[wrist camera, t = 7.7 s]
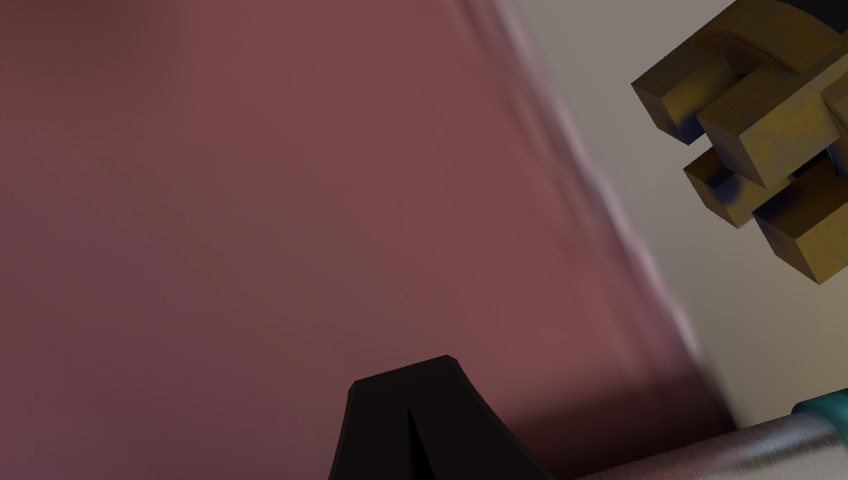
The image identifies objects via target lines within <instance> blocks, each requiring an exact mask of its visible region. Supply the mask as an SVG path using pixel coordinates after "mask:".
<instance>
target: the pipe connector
mask: <svg viewBox="0 0 848 480" xmlns="http://www.w3.org/2000/svg"><path fill="white" fill-rule="evenodd" d="M631 85H632V87H633V89H634V90H635V92H636V93H637V95H638V97H639V98H640V100H641V102H642V103H643V105H644V107H645V108H646V110H647V111H648V113H649V115H650V116H651V118H652V120H653V121H654V123H655V124H656V126H657V128H659V129H660V130H662V131H664V132H666V133H667V134H669V135H671V136H673V137H674V138H676V139H678V140H679V141H681V142H683V143H685V144H687V145H690V144H691V143H692V142H694V141H695V140H696V139H698V138H699V137H700V136H702V135H703V134H704V133H706V134H707V136H708V138H709V140H710V141H711V143H712V145H713V146H712V147H711V148H710V149H709V150H707V151H706V152H705V153H703V154H702V155H701V156H699V157H698V158H697V159H695V160H694V161H693V162H691V163H690V164H689V165H688V166H686V167H685V168H684V169H683V170H684V172H685V173H686V175H687V177H688V178H689V180H690V182H691V183H692V185H693V187H694V188H695V190H696V191H697V193H698V195H699V196H700V198H701V199H702V201H703V203H704V205H705V206H706V207H707V208H708V209H710V210H711V211H712V212H714V213H716V214H717V215H718V216H720V217H721V218H723V219H724V220H725V221H727V222H728V223H730V224H731V225H733V226H734V227H736V228H737V229H739V228H740V227H742V226H743V225H744V224H746V223H747V222H748V221H750V220H751V219H753V218H755V220H756V221H757V223H758V225H759V227H760V229H761V230H762V232H763V234H764V235H765V237H766V239H767V241H768V243H769V244H770V246H771V248H772V250H773V251H774V253H775V255H776V256H778V257H779V258H781V259H782V260H784V261H785V262H786V263H788V264H789V265H791V266H792V267H794V268H795V269H797V270H798V271H800V272H801V273H803V274H804V275H805V276H807V277H808V278H810V279H811V280H813V281H814V282H816V283H817V284H818V285H821V284H822V283H823V282H825V281H826V280H828V279H829V278H830V277H832V276H833V275H835V274H836V273H837V272H839V271H840V270H842V269H843V268H844V267H846V266H847V265H848V0H736V1H735V2H733V3H732V4H731V5H730V6H728V7H727V8H726V9H725V10H723V11H722V12H721V13H720V14H718V15H717V16H716V17H715V18H713V19H712V20H711V21H709V22H708V23H707V24H706V25H704V26H703V27H702V28H701V29H699V30H698V31H697V32H696V33H694V34H693V35H692V36H691V37H689V38H688V39H687V40H686V41H684V42H683V43H682V44H681V45H679V46H678V47H677V48H675V49H674V50H673V51H672V52H671V53H669V54H668V55H667V56H665V57H664V58H663V59H662V60H660V61H659V62H658V63H657V64H655V65H654V66H653V67H652V68H650V69H649V70H648V71H647V72H645V73H644V74H643V75H642V76H640V77H639V78H638V79H636V80H635V81H634V82H633V83H631Z"/></svg>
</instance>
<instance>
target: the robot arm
mask: <svg viewBox="0 0 848 480" xmlns="http://www.w3.org/2000/svg"><path fill="white" fill-rule="evenodd" d="M328 480H557V479H556V478H555V477H554V476H553V475H552V474H551V473H550V472H549V471H548V470H547V469H546V468H545V467H544V466H543V465H542V464H541V463H540V462H539V461H538V460H537V459H536V458H535V457H534V456H533V455H532V453H531V452H530V451H529V450H528V449H527V448H526V447H525V446H524V445H523V444H522V443H521V442H520V441H519V440H518V439H517V438H516V437H515V436H514V434H513V433H512V432H511V431H510V430H509V429H508V428H507V427H506V426H505V424H504V423H503V422H502V421H501V420H500V419H499V418H498V416H497V415H496V414H495V413H494V411H493V410H492V409H491V408H490V407H489V405H488V404H487V403H486V402H485V401H484V399H483V398H482V397H481V395H480V394H479V393H478V391H477V390H476V389H475V388H474V386H473V385H472V383H471V382H470V381H469V379H468V378H467V376H466V374H465V373H464V371H463V370H462V368H461V367H460V365H459V363H458V361H457V359H455V358H453V357H451V356H449V355H444V356H440V357H437V358H433V359H430V360H426V361H423V362H419V363H416V364H412V365H409V366H405V367H402V368H398V369H395V370H392V371H388V372H385V373H381V374H378V375H374V376H371V377H367V378H364V379H360V380H357V381H355V382H354V383H353V385H352V386H351V388H350V389H349V391H348V398H347V404H346V410H345V415H344V420H343V424H342V429H341V433H340V437H339V442H338V445H337V449H336V453H335V457H334V461H333V464H332V468H331V471H330V475H329V478H328Z"/></svg>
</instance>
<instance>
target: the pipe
mask: <svg viewBox="0 0 848 480" xmlns="http://www.w3.org/2000/svg"><path fill="white" fill-rule="evenodd" d="M574 480H848V388H846V389H842V390H839V391H836V392H832V393H829V394H826V395H822V396H819V397H816V398H812V399H809V400H806V401H802V402H799V403H797V404H796V405H795V406H794V407H793V409H792V412H791V414H790V415H787V416H784V417H781V418H777V419H774V420H770V421H767V422H764V423H760V424H757V425H754V426H750V427H747V428H744V429H740V430H737V431H734V432H730V433H727V434H724V435H720V436H717V437H714V438H710V439H707V440H704V441H700V442H697V443H694V444H690V445H687V446H684V447H680V448H677V449H674V450H670V451H667V452H664V453H660V454H657V455H654V456H650V457H647V458H644V459H640V460H637V461H634V462H630V463H627V464H624V465H620V466H617V467H614V468H610V469H607V470H604V471H600V472H597V473H594V474H591V475H587V476H584V477H581V478H577V479H574Z"/></svg>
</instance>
